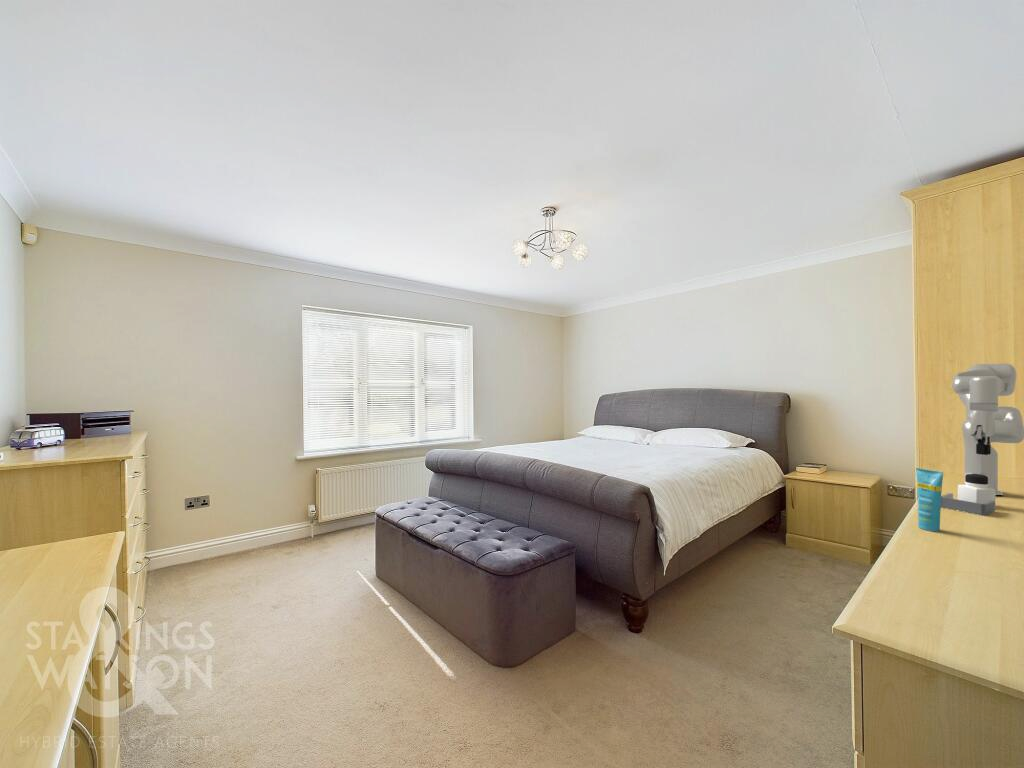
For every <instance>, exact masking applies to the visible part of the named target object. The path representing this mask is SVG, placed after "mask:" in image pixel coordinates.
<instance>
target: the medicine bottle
mask: <svg viewBox="0 0 1024 768" xmlns="http://www.w3.org/2000/svg"><path fill="white" fill-rule="evenodd" d="M965 484H966V485H965ZM987 486H988V477H987V476H985V475H982V474H974V473H968V474H965V473H964V484H957V499H958V500H964V501H969V502H975V503H981V504H983V503H985V502H987V501H990V500H995V501H996V496H995V489H992V488H988V487H987Z"/></svg>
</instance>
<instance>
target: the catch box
mask: <svg viewBox="0 0 1024 768" xmlns="http://www.w3.org/2000/svg"><path fill="white" fill-rule="evenodd" d="M941 507H943V508H942V509H945V508H948V509H947V510H950V509H954V510H953V511H956V510H959V511H958V512H961V511H965V512H964V513H966V512H968V514H972V513H973V514H972V515H977V514H978V516H984V517H987V516H989V515H990V514H993V513H994V511H996V499H995V500H990V501H987V502H985V503H983V504H981V503H975V502H969V501H964V500H958V498H957V499H956V498H954V493H952V492H950V493H949V492H948V493H946V494H943V495H941Z"/></svg>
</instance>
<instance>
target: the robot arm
mask: <svg viewBox="0 0 1024 768" xmlns="http://www.w3.org/2000/svg"><path fill="white" fill-rule="evenodd" d="M1016 382H1017V371H1016V368H1015V366H1013V365H1012V364H1010V363H979V364H974V365H973V364H972V365H971V366H970V367H969V368H968V369H967V370H966V371H963V372H958V373H956V374H955V375H954V376H953V377H952V382H951V383H952V384H951V387H952V390H953V392H954V393H955V394H958V397H959V400H960V401H961V402H962V404H963V405H964V406H965V411H966V413H965V415H966V420H965V421H964V422H963V423H962V424H961V431H962V435H963V443H964V475H965V474H968V473H974V474H982V475H985V476H987V477H988V486H987V487H988V488H992V489H995V495H1001V494H1003V495H1004V492H1002V491H1000V490H998V487H999V486H998V485H999V483H998V482H999V481H998V479H999V478H998V477H999V454H998V451H997V450H996V449H995V448H994V447H993V446H992V445H991V443H1000V444H1001V443H1002V444H1019V443H1022V442H1023V441H1024V421H1023V420H1024V419H1023V416H1022V413H1021V411H1020V410H1019V409H1018V408H1016V407H1014V406H999V397H1007V396H1011V395H1012V394H1014V392H1015V389H1016ZM964 485H966V484H965V483H964Z"/></svg>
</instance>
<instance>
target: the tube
mask: <svg viewBox="0 0 1024 768" xmlns="http://www.w3.org/2000/svg"><path fill="white" fill-rule="evenodd" d="M915 469H916V471H915V472H916V481H917V506H918V507H917V508H918V509H917V511H918V512H917V513H918V514H917V517H918V519H917V520H918V522H917V523H918V528H920V529H922V530H924V531H928V532H935V531H936V532H940V529H941V509H942V508H941V496H942V491H943V490H942V489H943V478H944V471H939V470H930V469H925V468H919V467H915Z"/></svg>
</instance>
